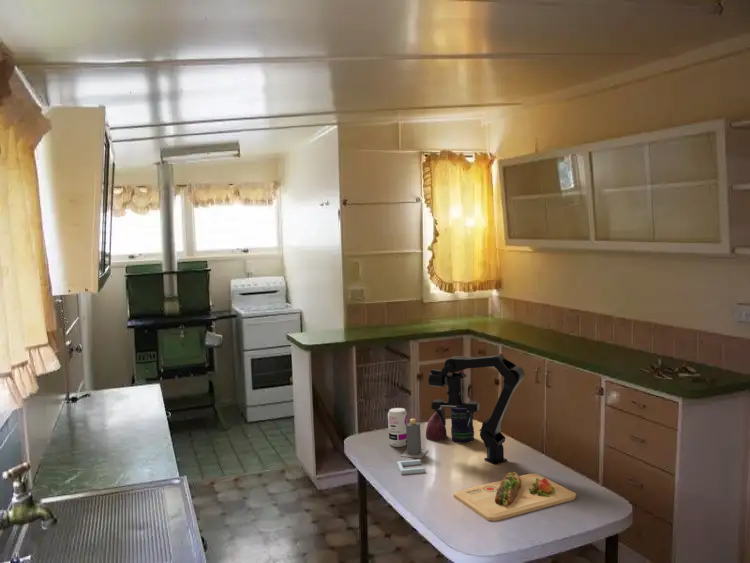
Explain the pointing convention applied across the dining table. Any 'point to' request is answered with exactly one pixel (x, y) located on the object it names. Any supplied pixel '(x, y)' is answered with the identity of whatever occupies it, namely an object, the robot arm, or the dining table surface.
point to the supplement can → (397, 427)
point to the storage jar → (461, 426)
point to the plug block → (413, 437)
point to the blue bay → (412, 470)
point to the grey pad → (415, 455)
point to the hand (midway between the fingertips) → (456, 426)
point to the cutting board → (513, 496)
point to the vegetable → (435, 428)
